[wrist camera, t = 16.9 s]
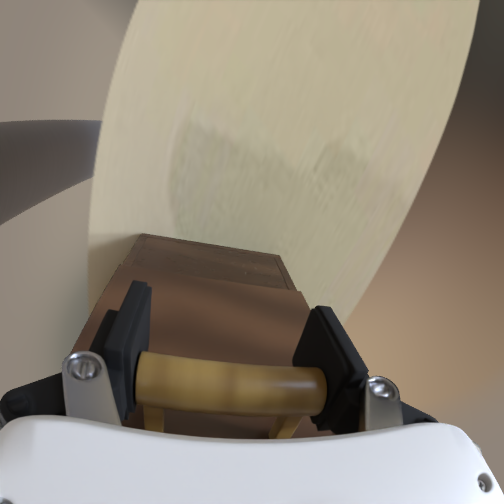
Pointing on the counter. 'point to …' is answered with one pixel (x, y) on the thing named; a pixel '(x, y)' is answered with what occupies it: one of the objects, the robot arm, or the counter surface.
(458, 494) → the robot arm
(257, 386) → the lid
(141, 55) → the counter surface
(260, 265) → the chest
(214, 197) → the counter surface
